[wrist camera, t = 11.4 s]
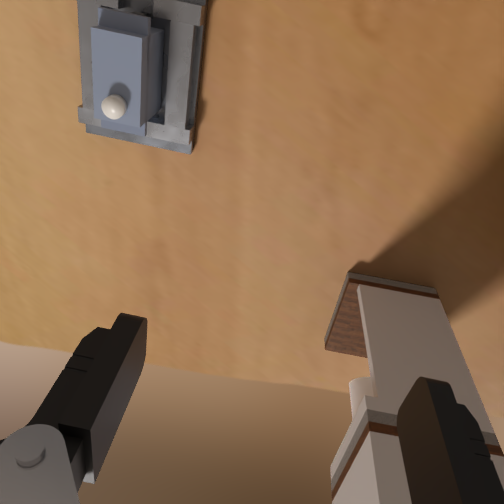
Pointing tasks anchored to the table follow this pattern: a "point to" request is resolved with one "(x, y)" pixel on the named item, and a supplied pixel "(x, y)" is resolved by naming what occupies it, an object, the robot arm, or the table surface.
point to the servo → (126, 70)
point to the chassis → (173, 71)
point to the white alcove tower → (393, 381)
